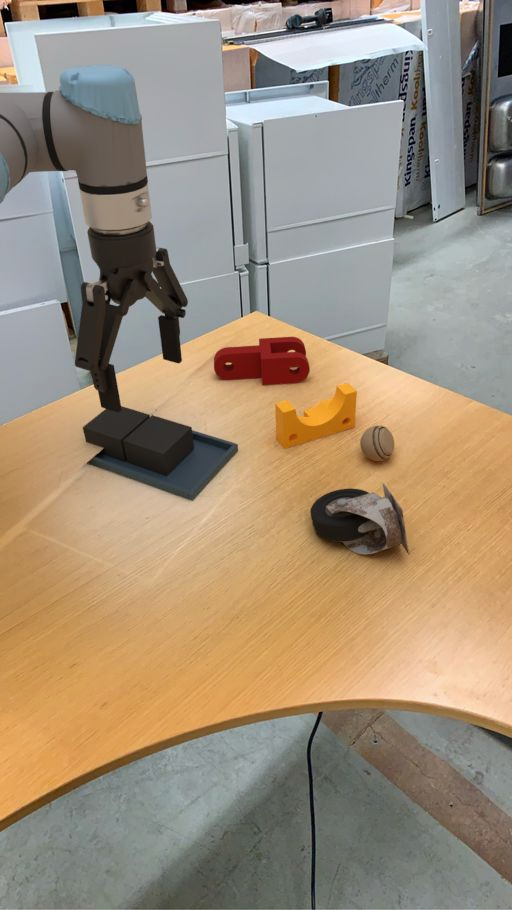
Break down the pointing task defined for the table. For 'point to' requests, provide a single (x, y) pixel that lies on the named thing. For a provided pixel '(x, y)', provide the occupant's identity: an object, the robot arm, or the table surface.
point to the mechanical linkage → (264, 361)
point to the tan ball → (377, 443)
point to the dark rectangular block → (159, 445)
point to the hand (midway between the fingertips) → (143, 383)
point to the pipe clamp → (316, 418)
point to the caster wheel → (360, 520)
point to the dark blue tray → (179, 467)
